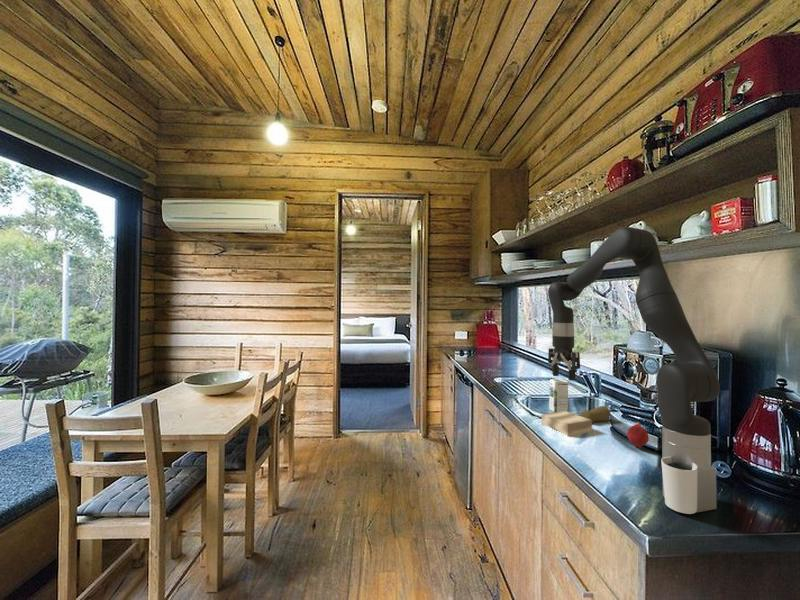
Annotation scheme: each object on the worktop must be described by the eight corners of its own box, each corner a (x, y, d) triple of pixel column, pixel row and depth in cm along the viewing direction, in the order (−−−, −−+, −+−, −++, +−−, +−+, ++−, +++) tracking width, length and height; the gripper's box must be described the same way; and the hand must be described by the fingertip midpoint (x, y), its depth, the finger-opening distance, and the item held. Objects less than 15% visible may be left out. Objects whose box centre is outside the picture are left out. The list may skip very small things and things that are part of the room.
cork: (599, 420, 143) (579, 425, 139) (596, 405, 144) (576, 409, 140) (612, 422, 137) (591, 426, 133) (609, 406, 138) (588, 410, 134)
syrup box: (548, 412, 152) (548, 378, 152) (562, 412, 152) (562, 379, 152) (554, 416, 146) (554, 381, 146) (568, 416, 146) (568, 381, 146)
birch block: (591, 433, 128) (591, 419, 128) (567, 438, 123) (567, 424, 123) (564, 423, 139) (564, 410, 139) (541, 427, 134) (541, 414, 134)
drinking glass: (655, 501, 84) (654, 460, 83) (675, 495, 86) (673, 454, 85) (686, 518, 77) (684, 473, 77) (706, 510, 79) (705, 466, 79)
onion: (644, 452, 110) (644, 426, 110) (624, 446, 115) (624, 421, 115) (651, 448, 114) (651, 423, 114) (631, 442, 118) (631, 418, 119)
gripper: (585, 336, 127) (586, 381, 126) (558, 333, 140) (558, 374, 140) (568, 336, 125) (568, 382, 124) (542, 333, 138) (542, 374, 138)
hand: (563, 377), depth 132 cm, fingers open, 8 cm apart
